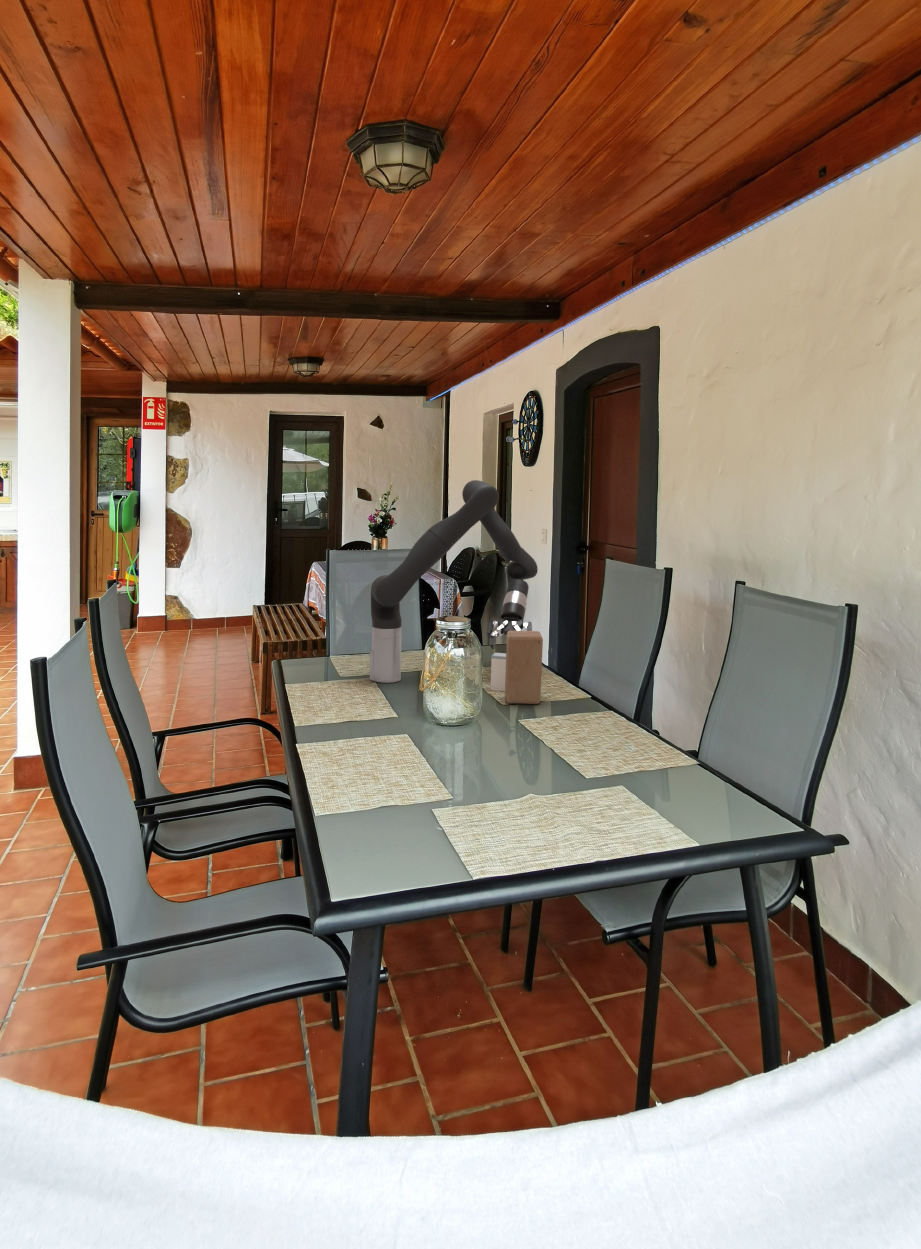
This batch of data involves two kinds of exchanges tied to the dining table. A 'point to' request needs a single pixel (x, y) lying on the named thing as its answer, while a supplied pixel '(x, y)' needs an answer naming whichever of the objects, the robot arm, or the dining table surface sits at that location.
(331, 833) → the dining table surface
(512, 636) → the wooden block
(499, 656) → the beige upright block
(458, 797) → the dining table surface
